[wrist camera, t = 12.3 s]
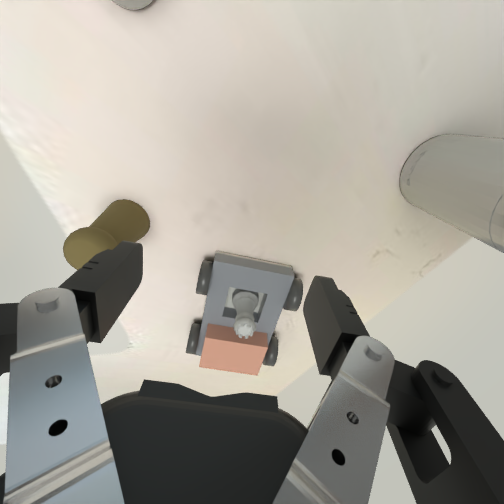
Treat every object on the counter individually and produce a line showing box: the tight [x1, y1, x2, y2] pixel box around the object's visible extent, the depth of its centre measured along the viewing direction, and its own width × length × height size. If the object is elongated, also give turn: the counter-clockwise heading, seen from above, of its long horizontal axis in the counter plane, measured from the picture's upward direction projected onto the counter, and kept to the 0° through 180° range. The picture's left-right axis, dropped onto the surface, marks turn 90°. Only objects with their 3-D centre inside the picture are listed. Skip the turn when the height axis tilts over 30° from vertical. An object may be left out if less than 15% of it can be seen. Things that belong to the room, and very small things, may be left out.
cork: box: [63, 199, 150, 270], centre depth 31 cm, size 6×6×11 cm
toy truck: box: [186, 251, 303, 375], centre depth 41 cm, size 15×20×6 cm
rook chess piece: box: [232, 289, 259, 339], centre depth 38 cm, size 4×4×8 cm
